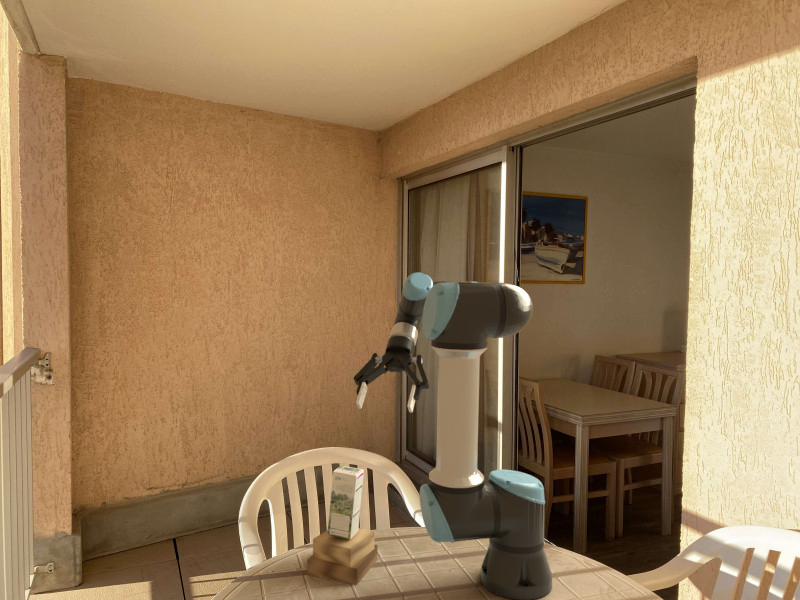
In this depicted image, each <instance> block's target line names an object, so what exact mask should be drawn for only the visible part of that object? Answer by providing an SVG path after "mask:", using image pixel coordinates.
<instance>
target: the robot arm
mask: <svg viewBox="0 0 800 600" xmlns="http://www.w3.org/2000/svg"><path fill="white" fill-rule="evenodd" d="M533 312H534V306H533V301H532V298H531V296H530V295H529V294H528V293H527V291H526V290H524V289H523V288H522V287H520V286H518V285H515V284H511V283H506V282H478V281H473V280H472V281H471V280H465V281H463V280H460V281H459V280H458V281H456V280H454V281H453V280H451V281H450V280H448V281H445V280H432V278H431V277H430V275H428V274H424V273H423V272H413V273H410V274H409V275H408V276H407V277H406V279H405V281H404V285H403V287H402V292H401V296H400V301H399V304H398V307H397V311H396V315H395V317H394V318H395V319H394V322H393V325H392V329H391V331H390V334H389V338H388V341H387V344H386V347H385V352H384V354H383V355H379V354H378V353H377V352H374V353H373V354H372V355H371V358H370V359H369V360H368V362H366V363H365V364H364V365H363V366H362V368H361V369H360V370H359V371H358V372H357V373H356V374H355V375H354V376H353V381H354V383H355V385H356V386H357V389H356V395H357V398H356V402H355V404H356V406H357V408H358V409H359V410H362V408H363V405H364V401H365V398H366V395H367V392H368V386H369V385H370V384H371V383H372V382H373V381H375V380H376V379H378V378H379V377H381V376H382V375H383V374H386V373H388V372H389V373H394V372H396V373H401V372H404V373H405V375H406V376H407V377H408V378H409V379H410V382H412V383H413V384H412V386H411V389H410V394H409V398H408V401H407V410H408V412H409V413H411V414H412V413H413V412H414V407H415V403H416V401H419V400H420V397H421V392H422V390H424V389H426V390H428V389H430V383H429V380H428V378H427V375H426V371H425V370H424V366H423V365H424V360H423V357H422V355H421V354H417V355H416V356H414V352H415V348H416V344H417V341H418V337H419V332H420V329H421V325H422V332H423V333H422V334H423V335H424V337H425V338H426V339H428V340H429V341H430V346H431V349H432V350H433V351H434V352H435V353H436V354H437V356H438V359H437V365H438V366H437V409H436V412H437V414H436V416H437V417H436V456H435V457H436V459H435V460H436V461H435V463H436V464H435V467H434V468H433V469H432V470H431V471H429V473H428V483H424V484H422V485H421V486H420V488H419V493H418V494H419V505H420V511H421V516H422V520H423V523H424V527H425V529H426V532H427V534H428V536H429V538H430V539H431V540H432V541H433V542H434V543H435V542H436V543H452V544H454V543H456V542H465V541H476V540H486V539H489V541H488V546H487V549H486V551H485V554H484V557H483V560H482V563H481V568H480V581H481V584H482V585H483V586H484V588H486V589H487V590H488V591H490V592H492V593H493V594H495V595H497V596H499V597H503V598H507V599H513V600H534V599H539V598H542V597H544V596H547V595H548V594H549V593H550V592H551V591H552V589H553V574H552V570H551V567H550V564H549V560H548V557H547V554H546V551H545V505H546V500H545V499H546V498H545V488H544V485H543V482H541V481H540V480H539V478H537V477H535V476H533V475H531V474H528V473H525V472H522V471H518V470H512V469H501V468H500V469H495V470H491V471H490V472H489V475H488V479H486V480H485V476H484V474H483V473H482V472H481V471H480V470H479V469H478V449H479V446H478V445H479V444H478V443H479V441H478V440H479V411H480V410H479V409H480V408H479V406H480V405H479V403H480V401H479V399H480V363H481V362H480V361H481V359H480V358H481V355H482V354H484V353H485V351H487V350H488V341H489V339H504V338H508V337H512V336H515V335H516V334H518V333H520V332H521V331H523V330H524V329H525V328H526V326H528V324H529V323H530V321H531V319H532V317H533ZM413 356H414V357H413ZM413 363H414V365H415V366H417V369H418V373H419V376H420V378H421V381H420V380H419V378H418V377H417V376H416V373H414V372H413V370H412V368H411V367H410V366H411V365H412V364H413Z"/></svg>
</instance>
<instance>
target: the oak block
mask: <svg viewBox="0 0 800 600" xmlns="http://www.w3.org/2000/svg"><path fill="white" fill-rule="evenodd" d="M327 532H328V529H327V530H325V531H324V532H322V533H320V534H318V535H317V536H316V537H314V538H313V539H312V555H313V557H315V558H319V559H322V560H326V561H330V562H333V563H337V564H340V565H344V566H348V567H352V566H353V565H354V564H356V563H357V562H358V561H359V560H361V559H362V558H363V557H365V556H366V555H367V554H368V553H370V552H371V551H372V550H374V544H375V531H373V530H369V529H364V528H361V527H359V528H358V532H357V533H356V534H355V535H354V536H353V537H352V538H351V539H345V538H340V537H336V536H331V535H327Z"/></svg>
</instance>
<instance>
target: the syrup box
mask: <svg viewBox="0 0 800 600" xmlns="http://www.w3.org/2000/svg"><path fill="white" fill-rule="evenodd" d="M364 471H365V470H364V469H363V468H359V467H358V468H357V467H351V466H344V465H340V466H338V467H337V468H335V470H333V472H332V481H331V489H330V490H331V491H330V501H329V513H328V522H327V523H328V524H327V530H328V532H327V535H331V536H336V537H340V538H345V539H351V538H352V537H353V536H354V535H355V534H356V533H357V532H358V528H360V527H359V524H360V515H361V514H360V513H361V512H360V511H361V502H362V493H363V483H364Z"/></svg>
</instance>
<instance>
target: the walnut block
mask: <svg viewBox="0 0 800 600" xmlns="http://www.w3.org/2000/svg"><path fill="white" fill-rule="evenodd" d="M378 547H379V546H378V544H375V543H374V550H372V551H371V552H370V553H368V554H367V555H366V556H365V557H363V558H362V559H361V560H359V561H358V562H357V563H356V564H354V565H353V566H352V567H348V566H344V565H340V564H337V563H333V562H330V561H326V560H322V559H319V558H315V557H313V554H311V556H309V558H307V561H306V562H307V564H306V566H307V568H306V569H307V570H306V571H307V572H306V573H307V575H306V576H308V577H309V576H310V577H314V578H320V579H326V580H331V581H336V582H342V583H348V584H353V585H358V584H359V583H360V582H361V581H362V580H363V578H364V577H365V576H366V575H367V574H368V572H369V571H370V570H371V568H372V567H373V566H374V564H375V563H377V561H378V558H379V557H378V556H379V555H378V553H379V552H378V549H379V548H378Z"/></svg>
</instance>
